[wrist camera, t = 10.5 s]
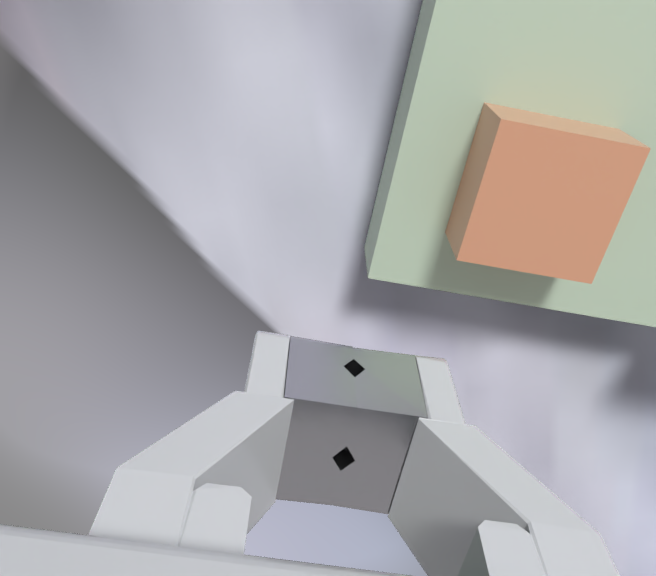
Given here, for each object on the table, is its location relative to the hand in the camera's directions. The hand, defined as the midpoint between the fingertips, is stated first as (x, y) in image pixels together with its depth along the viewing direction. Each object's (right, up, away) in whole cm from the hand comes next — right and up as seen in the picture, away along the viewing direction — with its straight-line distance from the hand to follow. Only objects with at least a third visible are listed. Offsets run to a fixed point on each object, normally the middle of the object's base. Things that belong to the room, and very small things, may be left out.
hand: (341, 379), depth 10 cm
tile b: (+7, +5, +13) cm, 16 cm away
